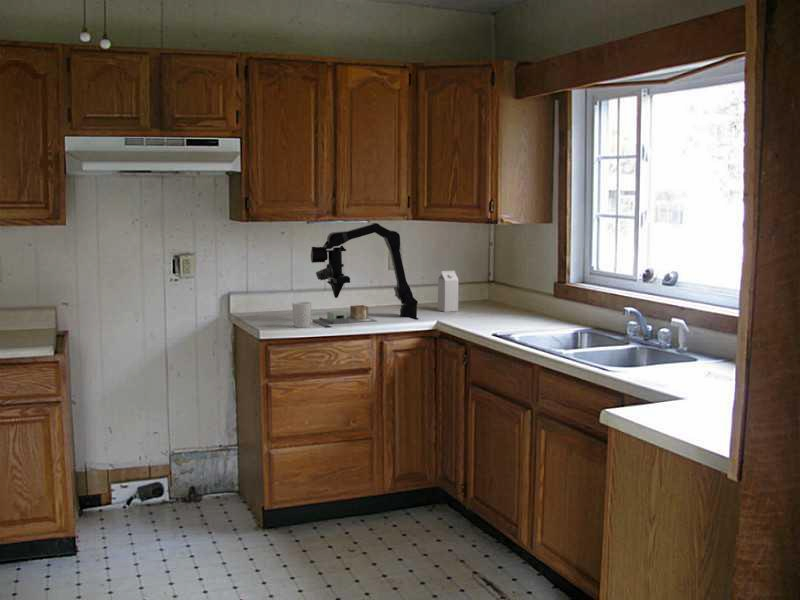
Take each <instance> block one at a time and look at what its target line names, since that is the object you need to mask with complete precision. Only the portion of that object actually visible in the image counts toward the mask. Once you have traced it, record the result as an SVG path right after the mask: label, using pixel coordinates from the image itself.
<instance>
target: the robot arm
mask: <svg viewBox="0 0 800 600" xmlns="http://www.w3.org/2000/svg"><path fill="white" fill-rule="evenodd" d="M371 234H377V235H378V236H380V237H382V238H383V240H384V242H385V245H386V247H387V248H388V251H389V252H390V256H391V257H390V258H391V261H392V266H393V270H394V274H395V279H396V286H394V287H393V290H394V292H395V293H394V296H395V297H396V298H397V299H398V300H399V301H400V303H401V305H400V309H399V311H400V312H399V313H400V316H399V317H401V318H409V319H412V320H419V317H418V316H417V314H418V312H417V311H418V303H419V302H418V300H417V299H415V297H414V294H413V292H412V290H411V287H410V285H409V283H408V281H407V278H406V273H405V272H406V271H405V268H404V264H403V258H402V255H401V237H400V233H399V232H398V231H395V230H390V229H388V228H385V227H384V226H382V225H380V223H377V222H373V223H369V224H368V225H364V226H360V227H357V228H353V229H351V230H345V231H332V232H330V233H328V235H327V237H326V242H325V243H324V245H322V246H311V249H310V250H311V251H310V262H311V263H312V264H313V263H314V264H315V263H326V261H327V260H328V263H327V264H326V267H325V268H323V269H320V270H318V271H316V272H315V275H316V278H317V279H318V280H320V281H326V280H328V281H326V283H327V284H328V285H330V286H331V287H330V288H331V290H332V293H333V296H334V298H335V299H337V298H339V295H340V293H341V292H342V289H343V286H344V285H345V284H349V283H351V277H350V276H349V275H345V273H344V272H343V268H344V264H343V256H342V255H343V254H342V253H343V252H346V251H347V249H346V248H345V247H344V246H343V245H344V244H345V243H346V242H348V241H351V240H353V239H357V238H361V237H363V236H369V235H371Z"/></svg>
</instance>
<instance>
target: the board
mask: <svg viewBox="0 0 800 600" xmlns="http://www.w3.org/2000/svg"><path fill="white" fill-rule="evenodd" d="M373 322H374V323H375V322H377V320H376V319H373V318H372V317H371V318H370V317H368V318H366V310H363V311H362V319H354V318H352V317H350V316H347V318H343V319H339V318H336V319H333V322H332V321H329V320H327V318H325V317H318V318H315V319H312V323H314V324H316V325H318V326H321V327H324V328H326V329H327V328H332V326H333V325H346V324H358V323H359V324H360V323H373ZM331 325H332V326H331Z"/></svg>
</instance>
